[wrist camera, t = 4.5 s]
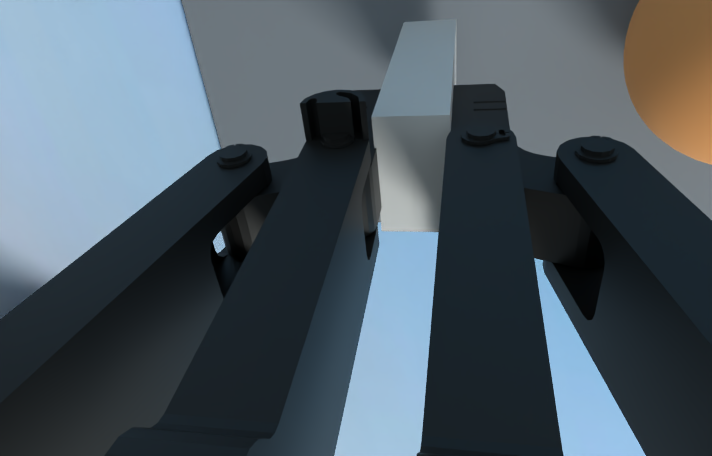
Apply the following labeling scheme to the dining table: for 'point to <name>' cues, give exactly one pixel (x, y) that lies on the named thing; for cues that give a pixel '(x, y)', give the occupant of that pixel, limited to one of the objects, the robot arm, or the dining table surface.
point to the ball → (672, 72)
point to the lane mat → (473, 66)
